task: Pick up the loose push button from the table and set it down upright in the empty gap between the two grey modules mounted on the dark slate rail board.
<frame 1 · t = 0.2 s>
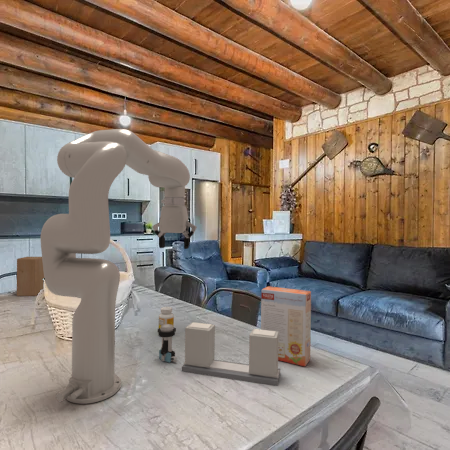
hand: (174, 248, 118), 31 cm above the table, tool pointing down, fingers open, 9 cm apart
wooden block: (31, 294, 171), on the table
cracker box: (285, 358, 95), on the table
supplement bottle: (166, 335, 113), on the table
rail board: (230, 372, 86), on the table
push button: (168, 361, 92), on the table
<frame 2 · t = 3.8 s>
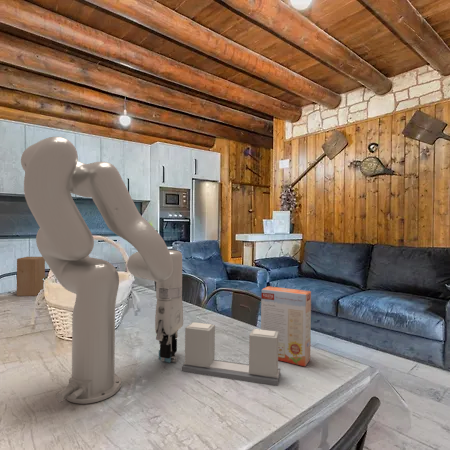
hand: (168, 354, 93), 2 cm above the table, tool pointing down, fingers closed on push button, 3 cm apart
push button: (167, 361, 92), on the table, touching gripper
everything else where it was.
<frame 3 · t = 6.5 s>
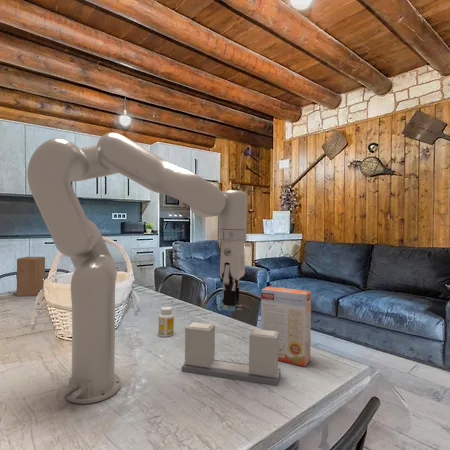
hand: (231, 302, 86), 19 cm above the table, tool pointing down, fingers closed on push button, 3 cm apart
push button: (230, 310, 85), point 17 cm above the table, touching gripper
everything else where it was.
when the fingers open (5 cm above the table, at t = 9.3 s): push button drops 2 cm, resting on rail board.
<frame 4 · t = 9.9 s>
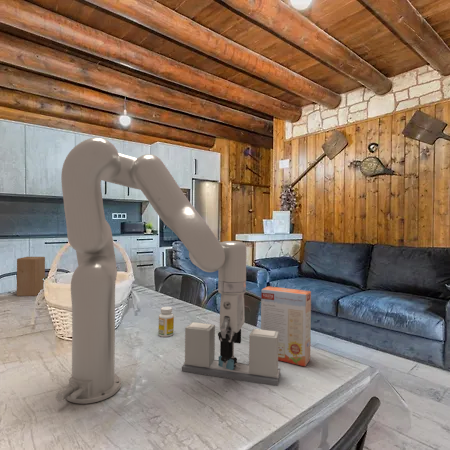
hand: (231, 349, 86), 6 cm above the table, tool pointing down, fingers open, 9 cm apart
push button: (229, 368, 85), point 1 cm above the table, touching rail board
everything else where it was.
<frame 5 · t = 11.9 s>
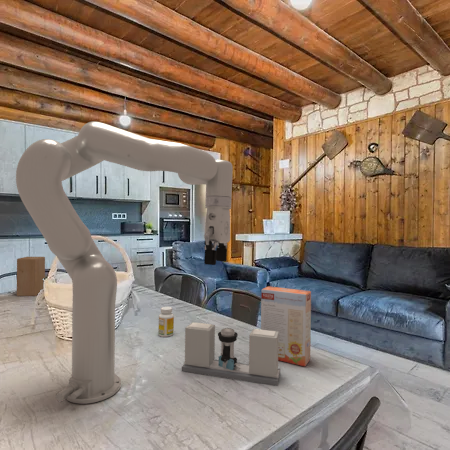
hand: (215, 262, 91), 29 cm above the table, tool pointing down, fingers open, 9 cm apart
nothing on the table moved.
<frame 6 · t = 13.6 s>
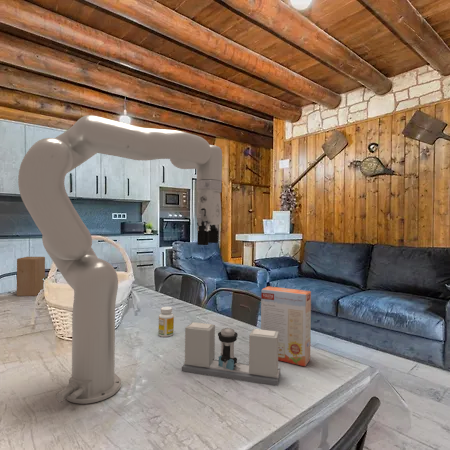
hand: (208, 243, 95), 34 cm above the table, tool pointing down, fingers open, 9 cm apart
nothing on the table moved.
at the end: push button inside the target area (0.9 cm from its centre), point 1.4 cm above the table; push button tilted 0°; the gripper is holding nothing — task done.
